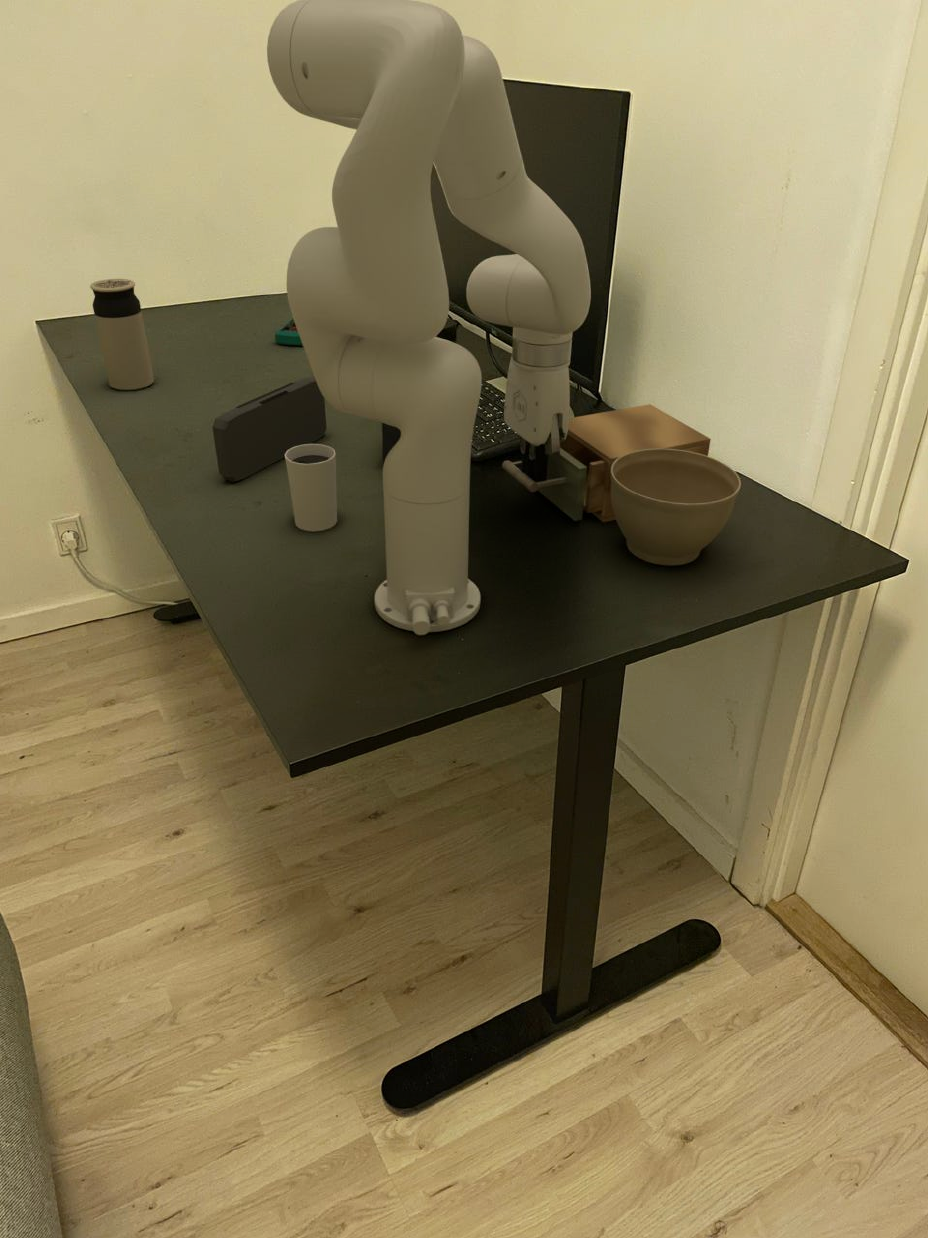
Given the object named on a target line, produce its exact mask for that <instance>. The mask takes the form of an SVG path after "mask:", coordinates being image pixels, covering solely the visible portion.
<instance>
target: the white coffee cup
mask: <svg viewBox="0 0 928 1238" xmlns="http://www.w3.org/2000/svg"><path fill="white" fill-rule="evenodd" d="M284 459H285V465H286V472H287V478H288V485H289V491H290V497H291V505H292V510H293V517H294V524H295V526H296V527H297V528H298V529H299V530H302V531H305V532H323V531H325V530H328V529H331V528H333V527H334V526H336V524H337V522H338V500H337V499H338V494H337V493H338V492H337V455H336V451H335V449H334V448H333V447H332V446H329V445H325V444H321V443H311V444H304V445H299V446H295V447H293V448H291V449H289V450H287V452H286V453H285V457H284Z"/></svg>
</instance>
